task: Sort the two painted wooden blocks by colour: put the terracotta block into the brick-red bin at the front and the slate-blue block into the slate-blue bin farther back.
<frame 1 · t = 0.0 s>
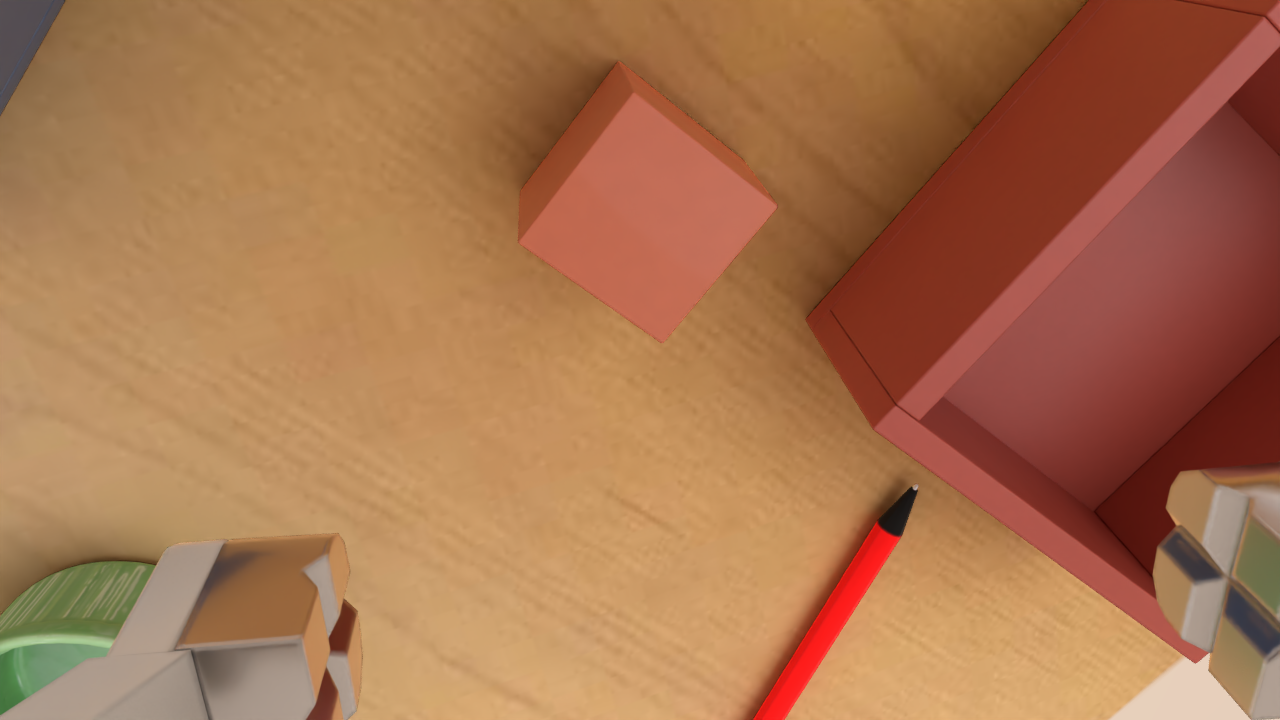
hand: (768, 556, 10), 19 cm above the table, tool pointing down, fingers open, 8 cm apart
terracotta block: (632, 176, 28), on the table
red bin: (1098, 277, 31), on the table
ramekin: (138, 654, 34), on the table
pen: (773, 692, 37), on the table
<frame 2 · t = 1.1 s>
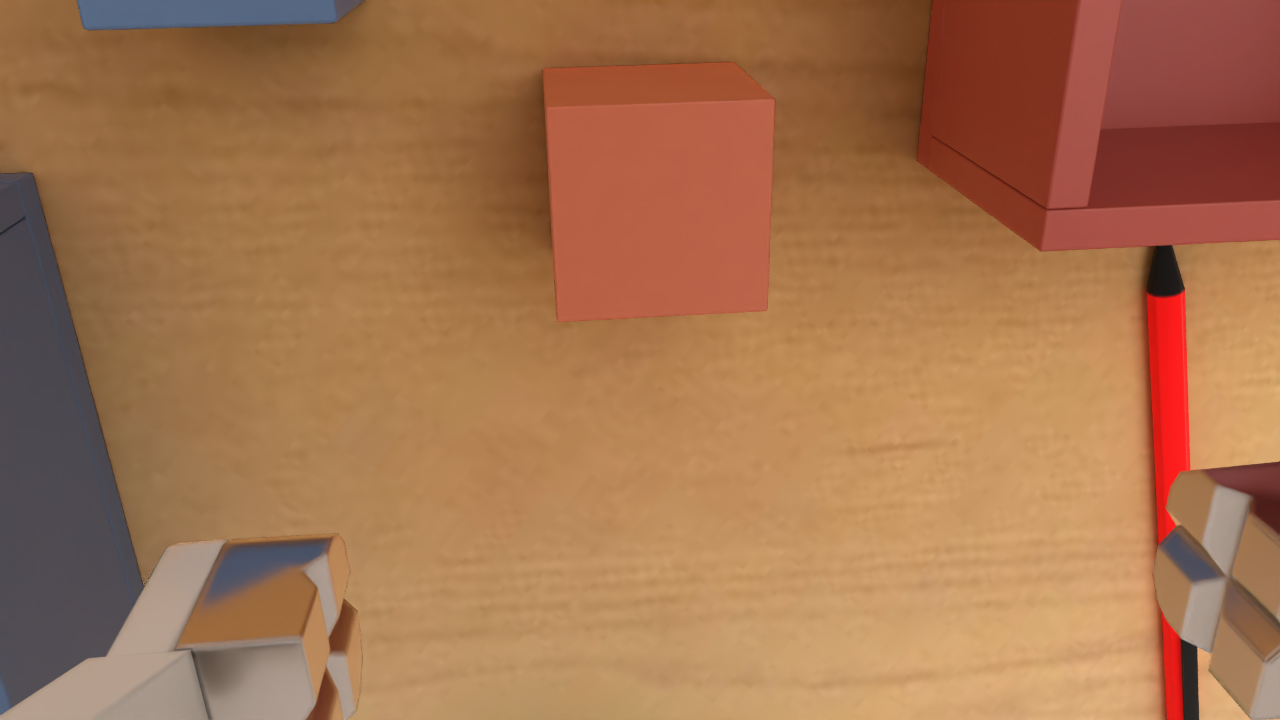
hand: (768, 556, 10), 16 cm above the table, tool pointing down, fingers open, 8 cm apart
terracotta block: (640, 160, 25), on the table
pen: (1163, 516, 31), on the table
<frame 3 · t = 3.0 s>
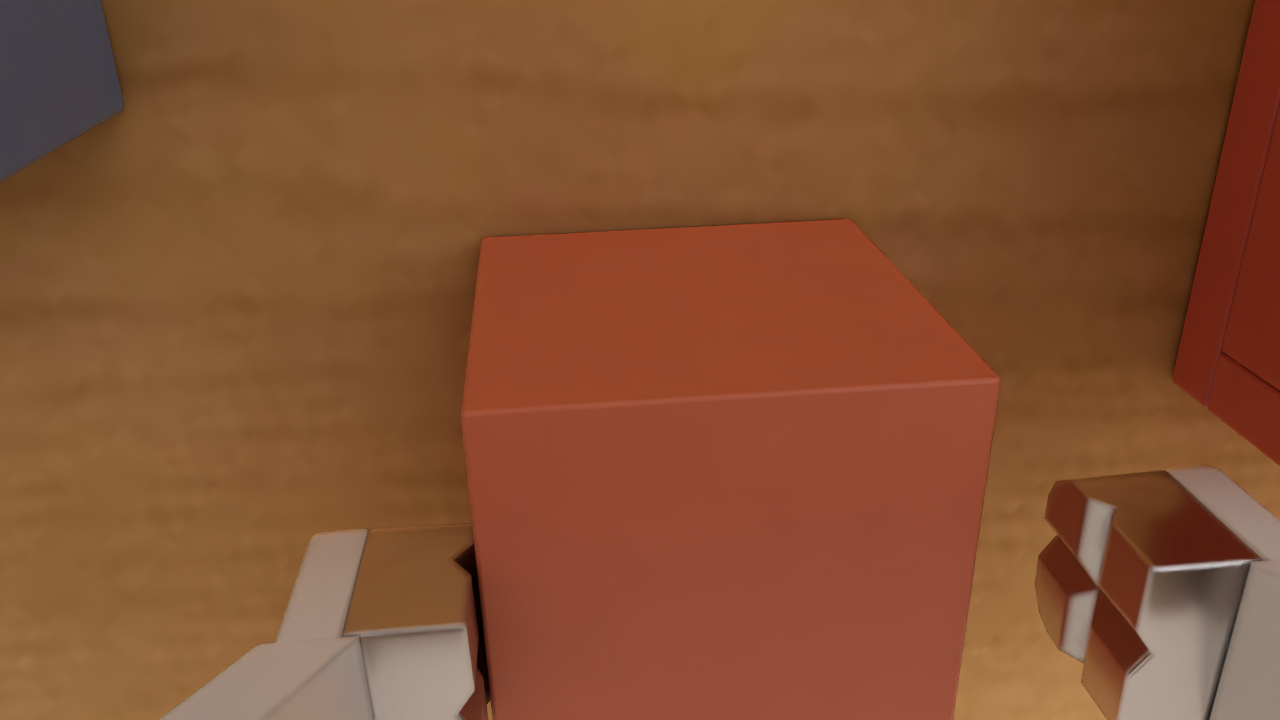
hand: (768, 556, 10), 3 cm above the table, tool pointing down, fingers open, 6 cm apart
terracotta block: (670, 393, 13), on the table
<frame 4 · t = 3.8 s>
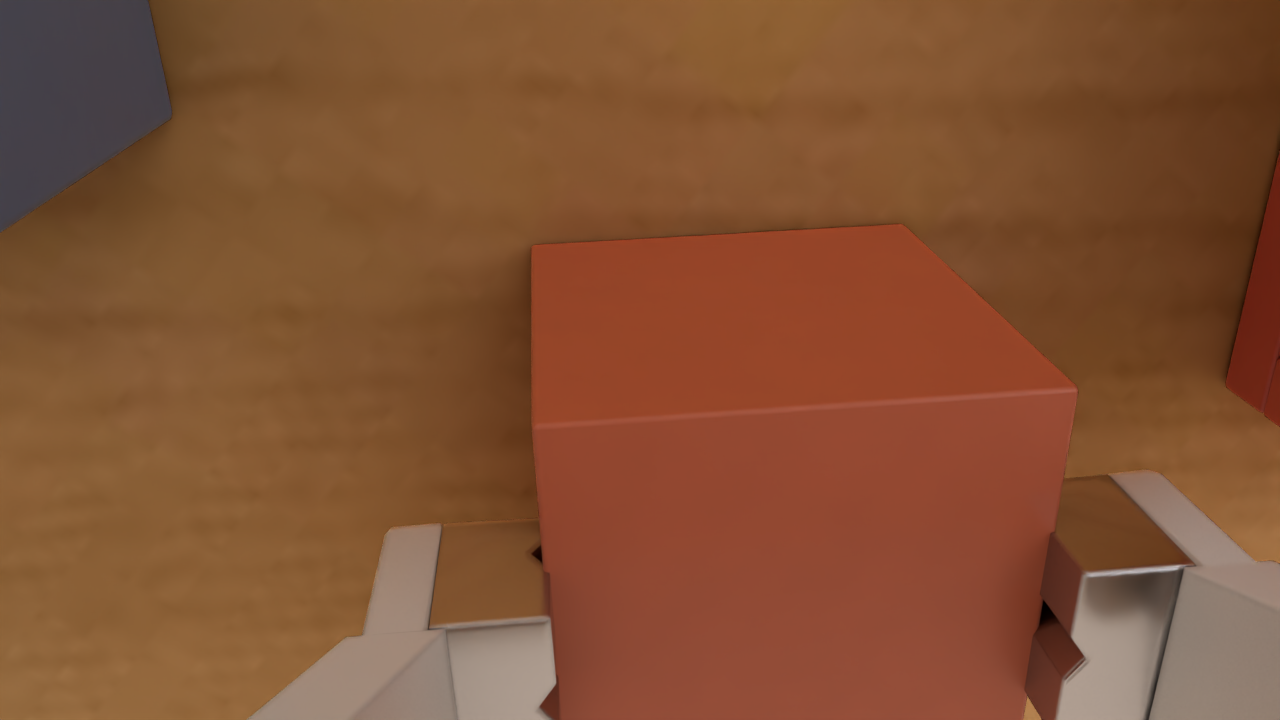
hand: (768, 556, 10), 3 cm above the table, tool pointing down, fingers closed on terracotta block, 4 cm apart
terracotta block: (719, 400, 13), on the table, touching gripper
when the fingers open (5 cm above the table, at t = 11.2 s): terracotta block stays where it is, resting on red bin.
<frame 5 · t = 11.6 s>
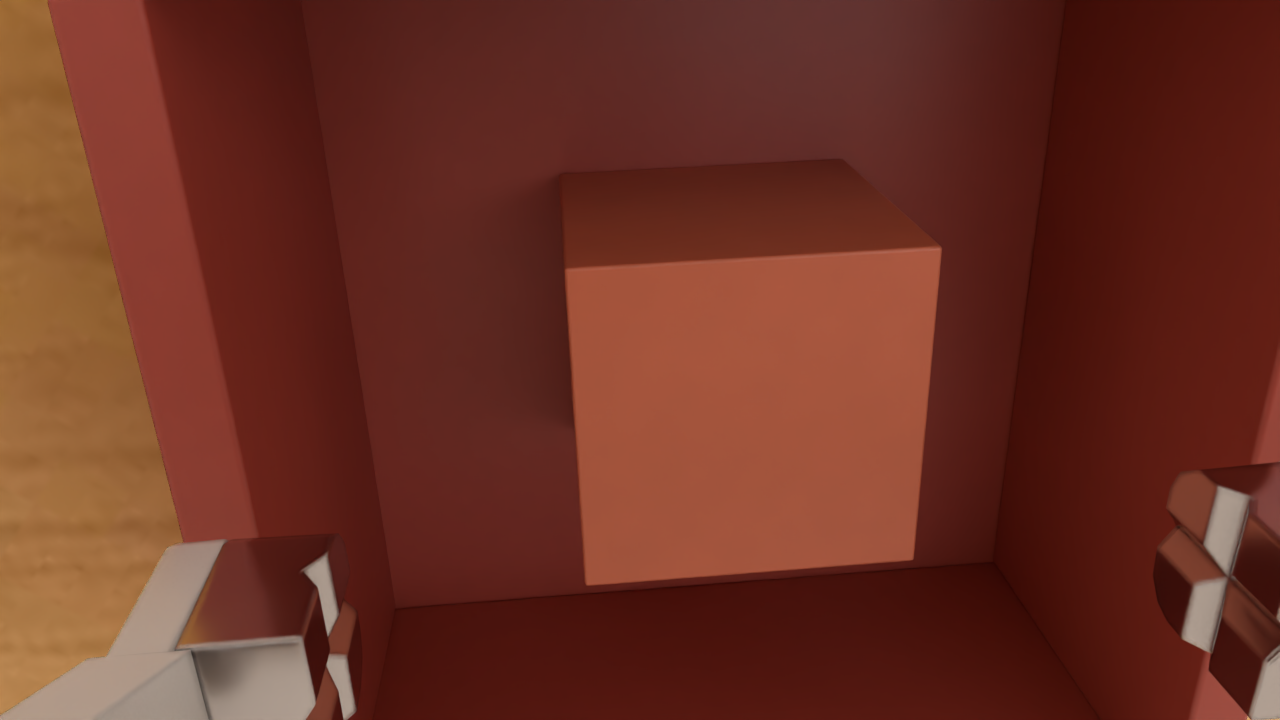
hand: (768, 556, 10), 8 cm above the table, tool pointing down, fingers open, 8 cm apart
terracotta block: (703, 300, 17), point 1 cm above the table, touching red bin
red bin: (690, 287, 18), on the table
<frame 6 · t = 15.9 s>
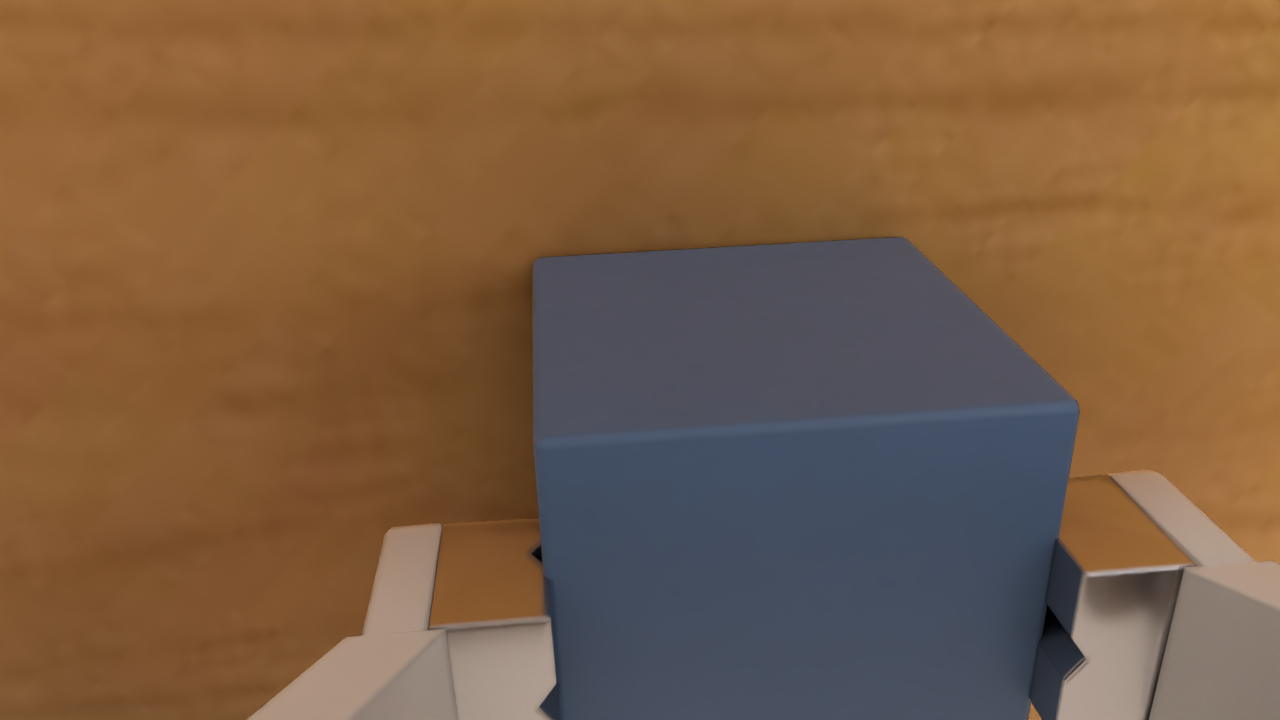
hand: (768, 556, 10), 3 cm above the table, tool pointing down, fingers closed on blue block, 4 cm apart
blue block: (721, 412, 13), on the table, touching gripper
when the fingers open (5 cm above the table, at t = 23.9 s): blue block stays where it is, resting on blue bin.
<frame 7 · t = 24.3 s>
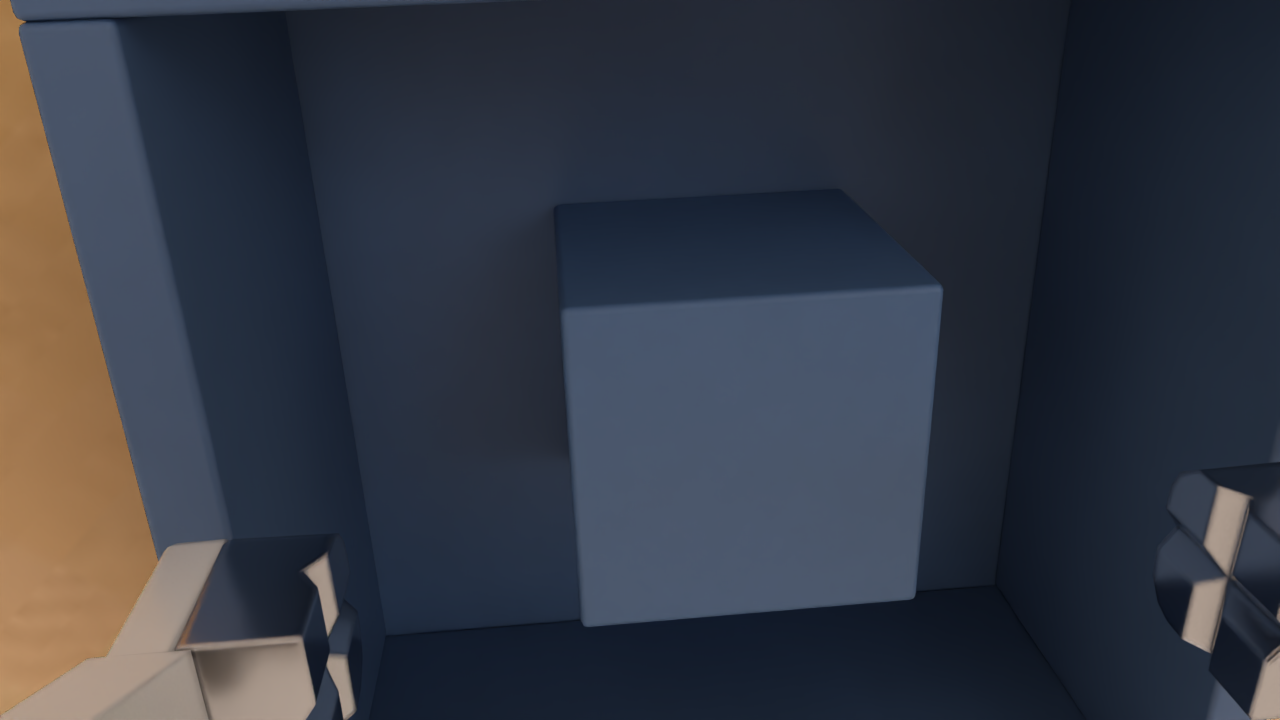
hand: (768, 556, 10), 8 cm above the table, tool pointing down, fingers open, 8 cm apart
blue bin: (686, 308, 17), on the table
blue block: (700, 330, 17), point 1 cm above the table, touching blue bin
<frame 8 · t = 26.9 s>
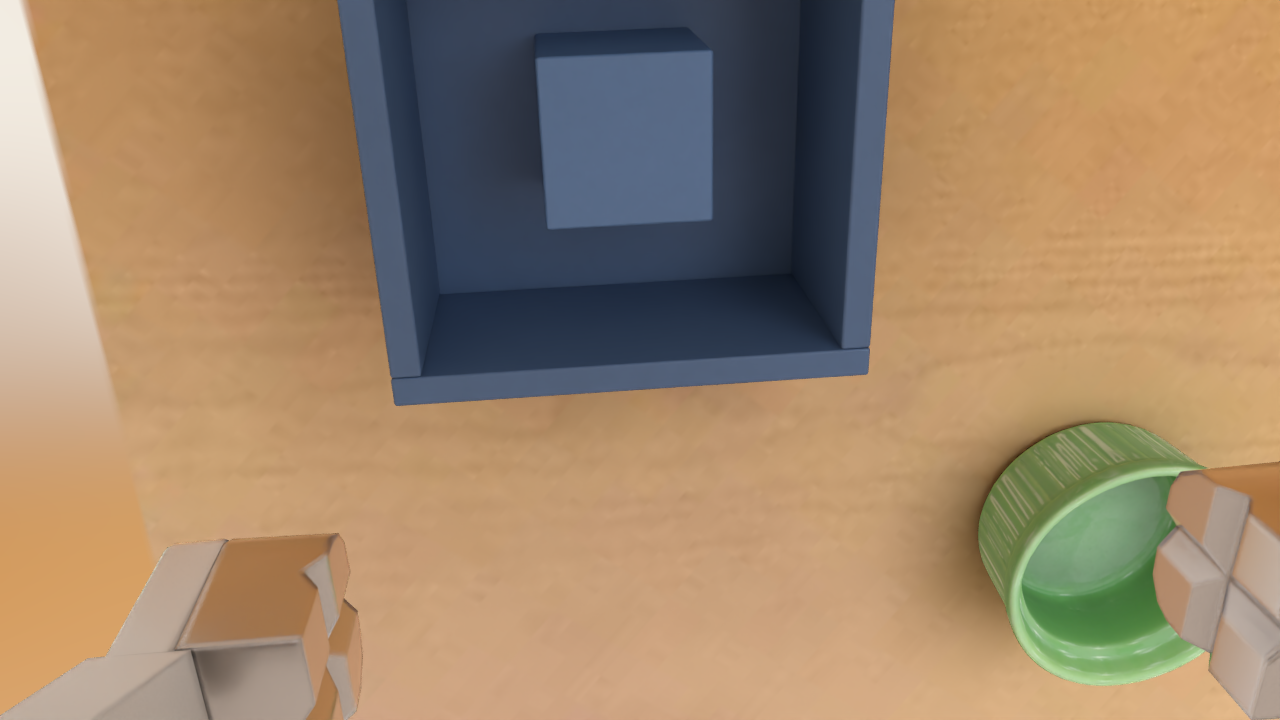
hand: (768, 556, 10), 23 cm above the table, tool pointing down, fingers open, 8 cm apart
ramekin: (1075, 509, 39), on the table
blue bin: (608, 100, 31), on the table
blue block: (615, 108, 30), point 1 cm above the table, touching blue bin
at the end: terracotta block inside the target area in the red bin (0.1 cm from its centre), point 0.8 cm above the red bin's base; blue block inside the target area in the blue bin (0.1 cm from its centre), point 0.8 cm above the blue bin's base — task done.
